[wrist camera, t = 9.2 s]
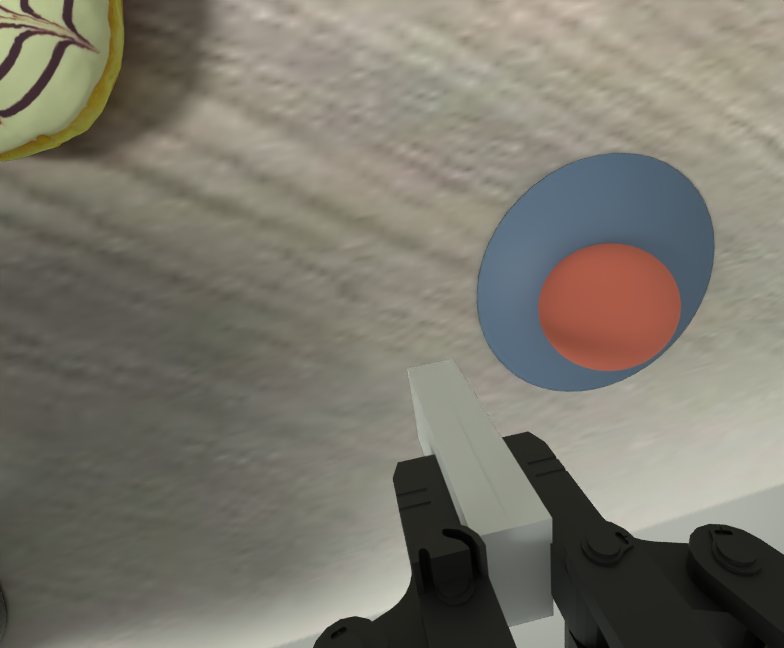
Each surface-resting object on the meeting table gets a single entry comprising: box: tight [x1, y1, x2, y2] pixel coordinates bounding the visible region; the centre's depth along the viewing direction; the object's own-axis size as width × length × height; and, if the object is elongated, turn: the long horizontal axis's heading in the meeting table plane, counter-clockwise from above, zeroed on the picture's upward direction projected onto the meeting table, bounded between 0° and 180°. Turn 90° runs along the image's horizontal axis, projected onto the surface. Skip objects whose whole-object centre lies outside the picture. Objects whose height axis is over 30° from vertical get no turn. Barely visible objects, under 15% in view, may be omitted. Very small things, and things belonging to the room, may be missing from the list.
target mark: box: [477, 153, 714, 392], centre depth 21 cm, size 12×12×1 cm
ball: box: [538, 243, 681, 371], centre depth 19 cm, size 6×6×6 cm
